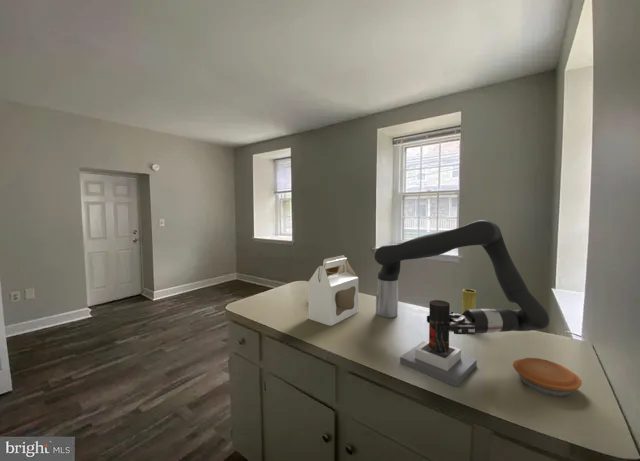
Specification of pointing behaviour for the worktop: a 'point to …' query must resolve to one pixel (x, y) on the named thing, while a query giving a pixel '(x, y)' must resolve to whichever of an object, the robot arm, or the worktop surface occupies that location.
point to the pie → (547, 376)
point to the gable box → (333, 292)
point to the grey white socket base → (439, 363)
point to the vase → (468, 300)
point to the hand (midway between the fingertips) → (431, 323)
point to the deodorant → (437, 314)
